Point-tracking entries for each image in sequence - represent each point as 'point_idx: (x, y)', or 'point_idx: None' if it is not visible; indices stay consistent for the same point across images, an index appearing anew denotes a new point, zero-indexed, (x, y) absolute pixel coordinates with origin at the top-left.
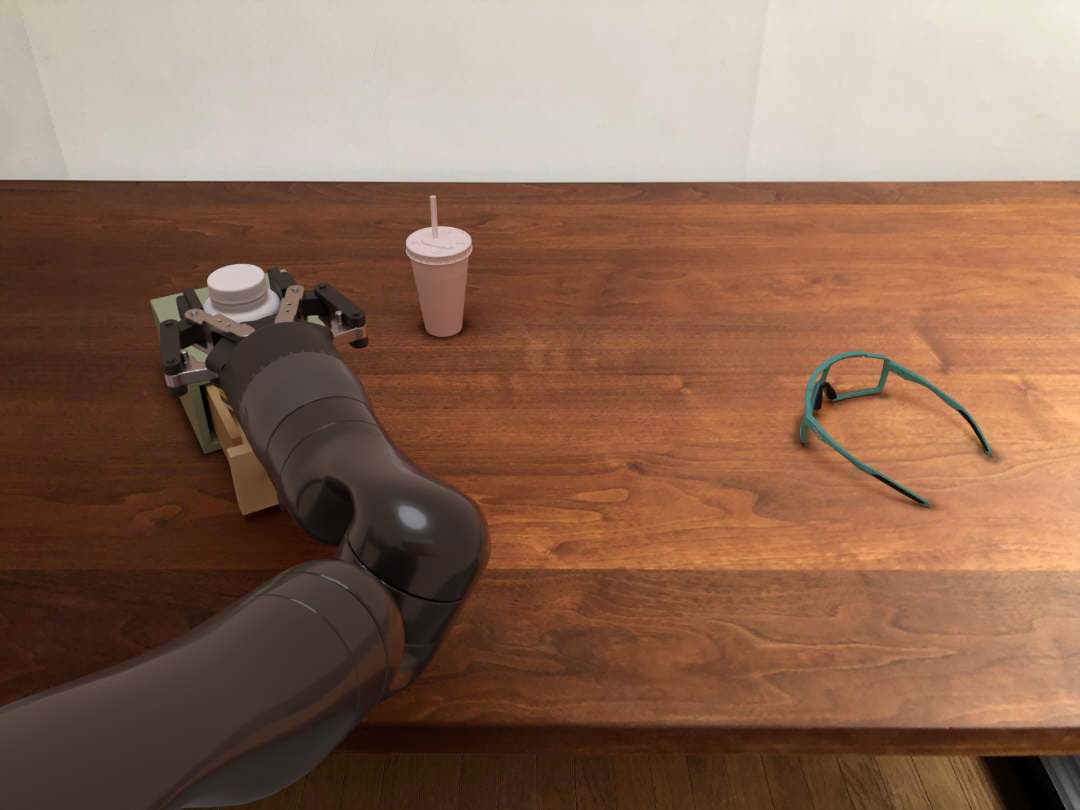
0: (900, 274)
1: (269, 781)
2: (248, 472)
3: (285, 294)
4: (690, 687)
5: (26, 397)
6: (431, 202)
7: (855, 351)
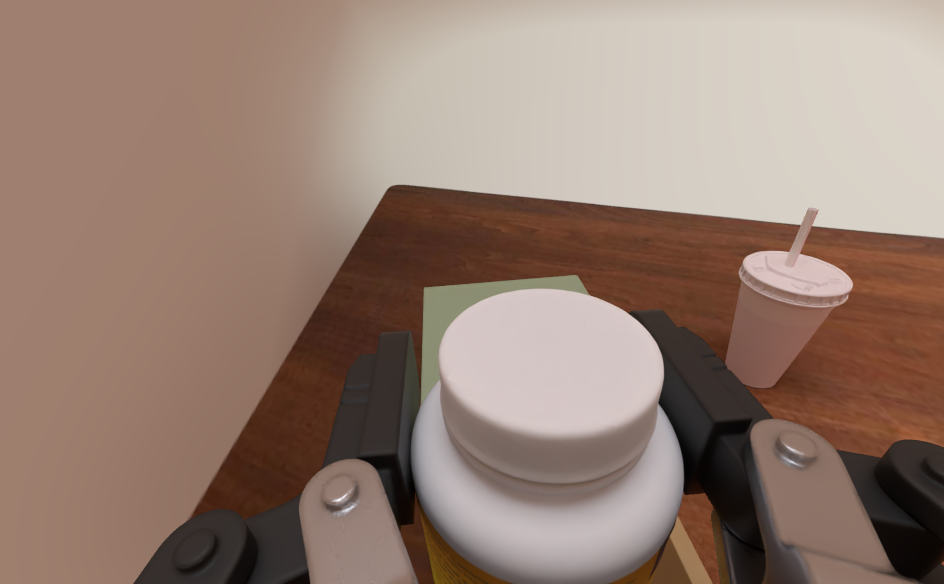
0: None
1: None
2: None
3: (762, 479)
4: None
5: (300, 360)
6: (808, 217)
7: None
